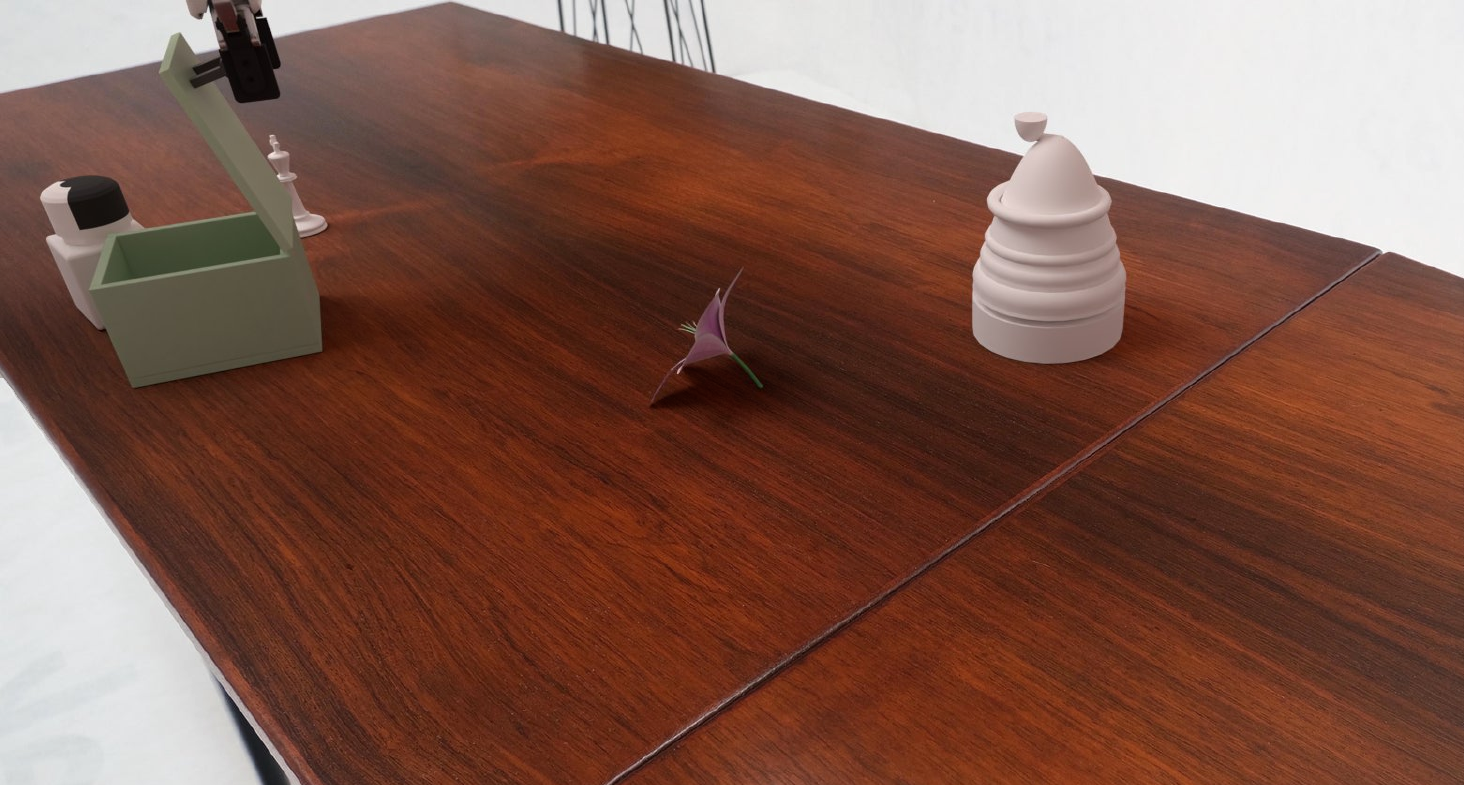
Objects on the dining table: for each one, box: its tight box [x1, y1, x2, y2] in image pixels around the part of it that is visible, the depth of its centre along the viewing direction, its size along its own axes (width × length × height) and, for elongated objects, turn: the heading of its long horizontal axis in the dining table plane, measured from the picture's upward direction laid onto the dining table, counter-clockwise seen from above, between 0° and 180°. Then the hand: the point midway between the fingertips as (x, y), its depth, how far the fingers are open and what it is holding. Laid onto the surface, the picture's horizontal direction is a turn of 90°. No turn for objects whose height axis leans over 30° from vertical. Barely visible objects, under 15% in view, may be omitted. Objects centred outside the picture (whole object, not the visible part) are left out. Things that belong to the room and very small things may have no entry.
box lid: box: [158, 31, 293, 252], centre depth 99 cm, size 16×13×5 cm
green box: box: [89, 211, 323, 389], centre depth 104 cm, size 15×13×9 cm
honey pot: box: [971, 111, 1127, 365], centre depth 98 cm, size 13×13×18 cm
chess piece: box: [267, 134, 328, 239], centre depth 124 cm, size 5×5×10 cm
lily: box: [648, 266, 764, 407], centre depth 95 cm, size 12×12×10 cm
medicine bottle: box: [39, 174, 146, 331], centre depth 109 cm, size 7×7×12 cm
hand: (260, 84), depth 97 cm, fingers open, 9 cm apart
